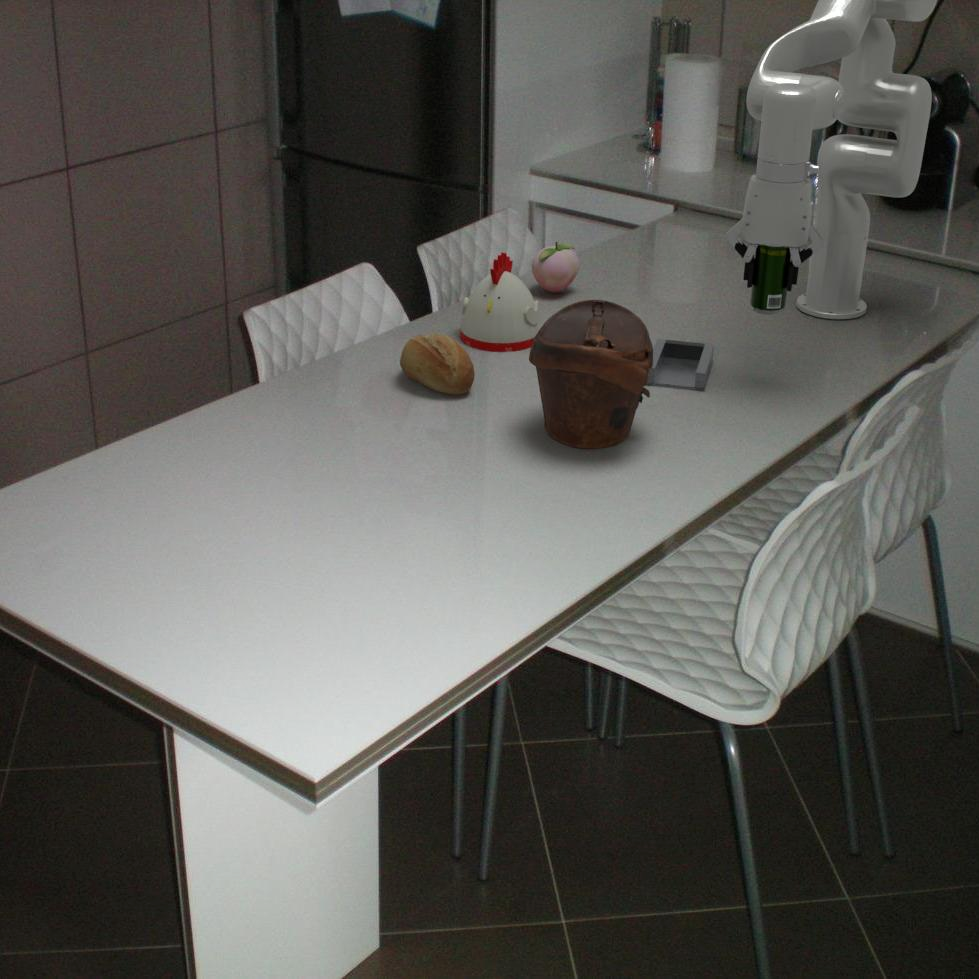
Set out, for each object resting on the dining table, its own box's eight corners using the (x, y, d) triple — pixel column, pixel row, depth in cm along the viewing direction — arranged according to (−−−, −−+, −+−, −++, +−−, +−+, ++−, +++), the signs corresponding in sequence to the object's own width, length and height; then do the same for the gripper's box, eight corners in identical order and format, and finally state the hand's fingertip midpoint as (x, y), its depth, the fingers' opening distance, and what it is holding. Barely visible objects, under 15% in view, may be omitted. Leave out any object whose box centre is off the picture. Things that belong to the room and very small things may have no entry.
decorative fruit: (548, 282, 265) (550, 231, 260) (584, 290, 261) (587, 239, 256) (521, 295, 258) (522, 243, 254) (557, 304, 254) (559, 251, 249)
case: (570, 470, 193) (577, 350, 185) (503, 418, 209) (507, 305, 201) (676, 448, 201) (687, 332, 193) (603, 399, 216) (611, 290, 208)
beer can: (791, 312, 214) (800, 238, 208) (761, 317, 212) (769, 241, 206) (773, 301, 218) (781, 227, 213) (743, 305, 217) (750, 231, 211)
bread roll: (440, 407, 212) (440, 359, 209) (384, 377, 223) (383, 330, 219) (488, 392, 218) (489, 345, 214) (432, 363, 228) (431, 318, 224)
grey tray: (656, 355, 232) (657, 338, 231) (712, 361, 230) (714, 344, 229) (644, 384, 221) (645, 367, 219) (703, 391, 219) (705, 373, 217)
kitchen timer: (447, 344, 235) (447, 260, 228) (478, 319, 247) (479, 237, 240) (523, 357, 231) (526, 271, 224) (551, 330, 242) (554, 247, 235)
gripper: (841, 168, 206) (826, 283, 214) (726, 160, 209) (716, 274, 218) (840, 181, 199) (825, 300, 208) (721, 172, 203) (711, 289, 212)
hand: (769, 285), depth 213 cm, fingers closed on beer can, 5 cm apart
